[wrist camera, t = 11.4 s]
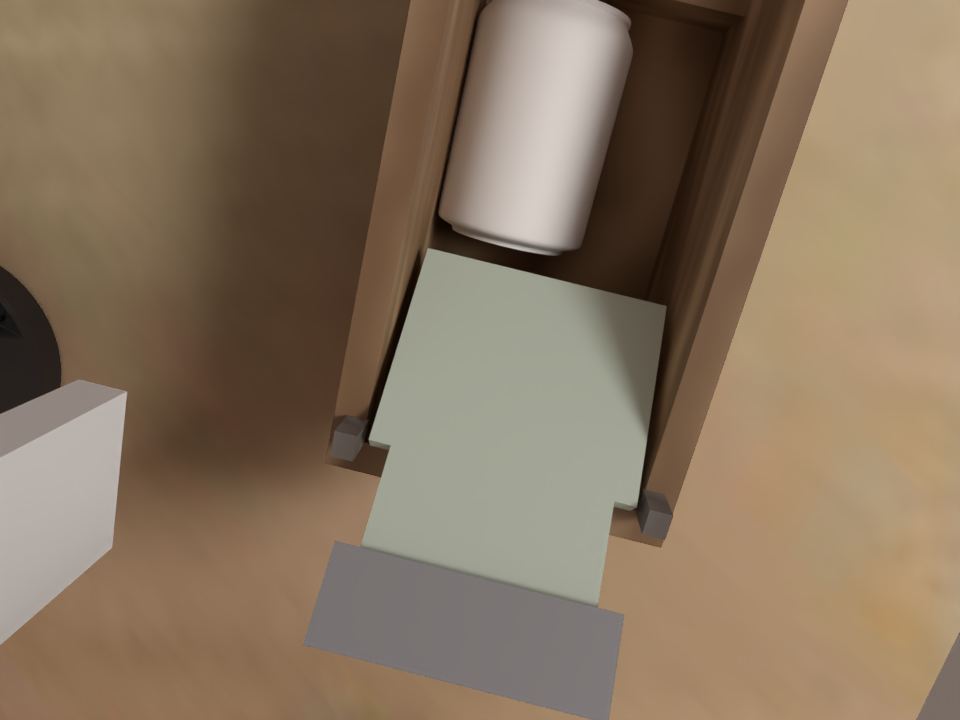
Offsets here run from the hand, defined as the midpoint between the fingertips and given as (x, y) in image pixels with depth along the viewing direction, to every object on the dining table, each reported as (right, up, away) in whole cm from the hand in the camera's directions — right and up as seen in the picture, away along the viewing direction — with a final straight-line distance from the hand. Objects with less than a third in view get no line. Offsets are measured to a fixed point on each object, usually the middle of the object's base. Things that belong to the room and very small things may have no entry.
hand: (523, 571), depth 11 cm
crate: (+4, +12, +32) cm, 34 cm away
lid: (0, -2, +21) cm, 21 cm away
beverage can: (+1, +10, +28) cm, 29 cm away
